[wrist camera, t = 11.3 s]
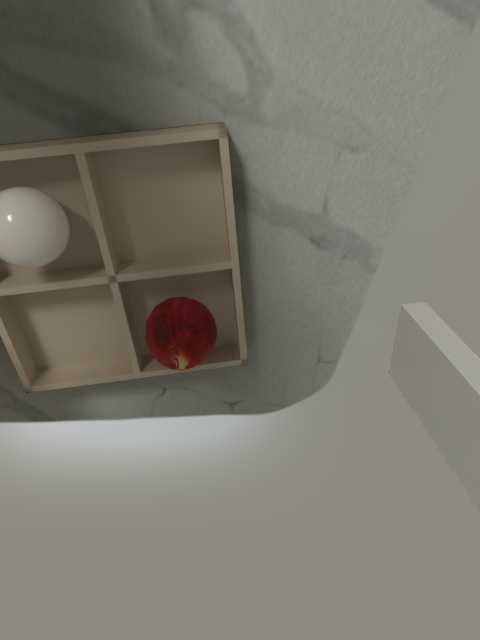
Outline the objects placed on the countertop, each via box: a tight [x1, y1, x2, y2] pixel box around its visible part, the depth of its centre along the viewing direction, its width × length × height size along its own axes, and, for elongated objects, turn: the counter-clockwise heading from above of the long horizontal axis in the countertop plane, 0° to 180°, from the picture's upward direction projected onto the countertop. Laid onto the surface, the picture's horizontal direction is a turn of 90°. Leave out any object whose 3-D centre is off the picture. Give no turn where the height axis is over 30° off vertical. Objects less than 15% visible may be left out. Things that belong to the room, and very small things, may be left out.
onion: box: [145, 297, 217, 371], centre depth 35 cm, size 6×6×8 cm
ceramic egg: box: [0, 187, 70, 268], centre depth 30 cm, size 6×6×6 cm
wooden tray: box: [0, 122, 248, 393], centre depth 35 cm, size 20×20×3 cm
